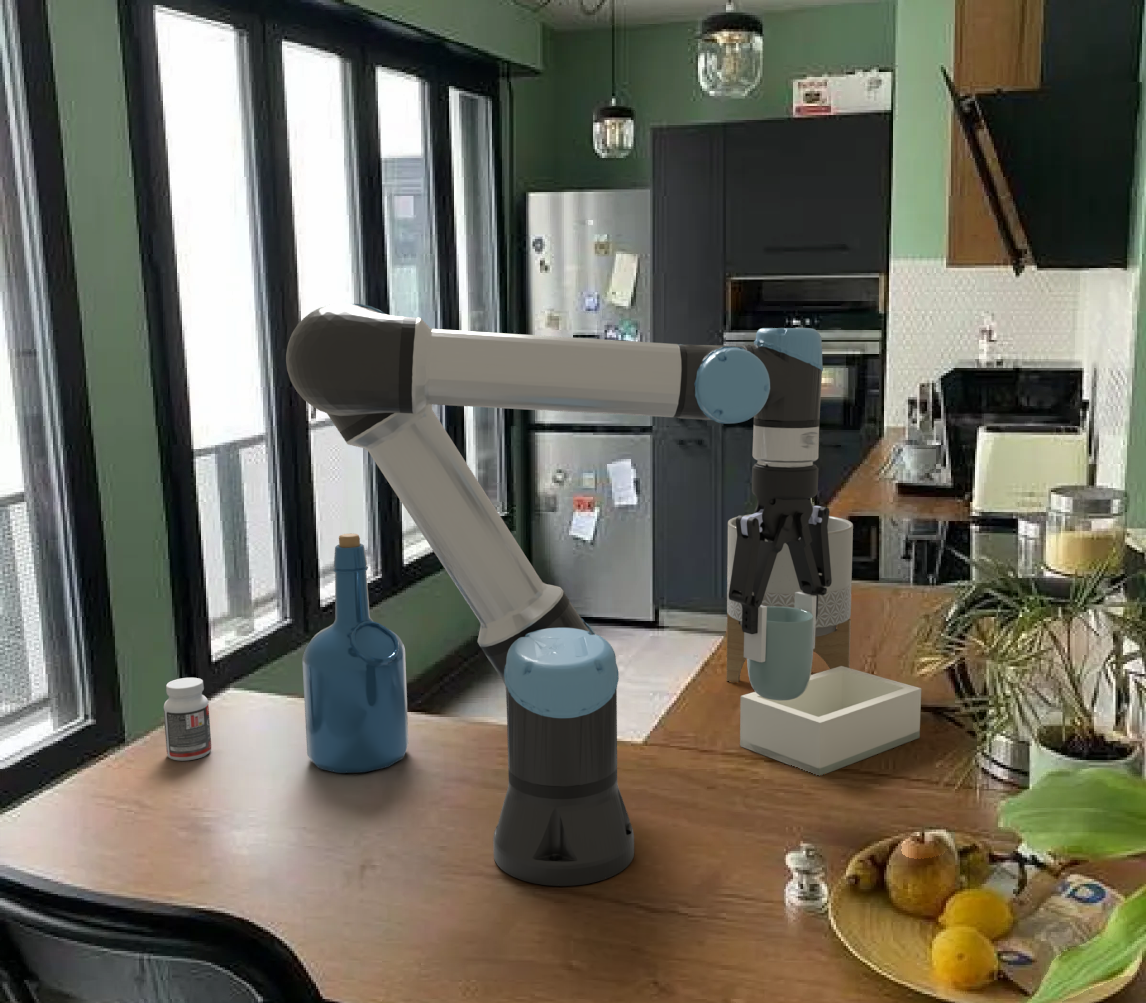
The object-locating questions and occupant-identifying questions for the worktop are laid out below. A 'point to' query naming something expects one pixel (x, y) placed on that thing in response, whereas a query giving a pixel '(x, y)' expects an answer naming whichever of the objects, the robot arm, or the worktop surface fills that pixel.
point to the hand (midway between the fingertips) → (779, 652)
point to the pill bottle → (187, 720)
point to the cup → (784, 655)
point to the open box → (832, 720)
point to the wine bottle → (354, 678)
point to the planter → (782, 594)
